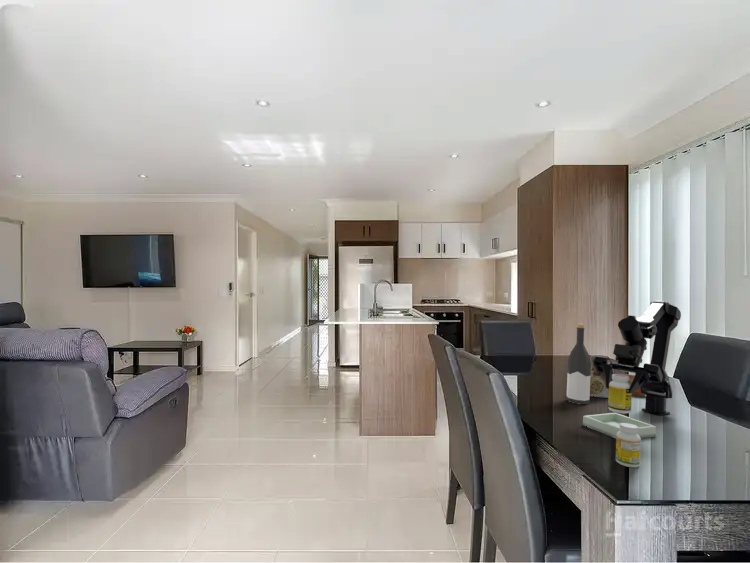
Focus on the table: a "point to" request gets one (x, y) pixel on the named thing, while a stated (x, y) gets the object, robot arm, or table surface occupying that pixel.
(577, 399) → the wine bottle
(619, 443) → the supplement bottle
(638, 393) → the tin
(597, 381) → the coffee box
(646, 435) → the tray
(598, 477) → the table surface
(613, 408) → the pill bottle
